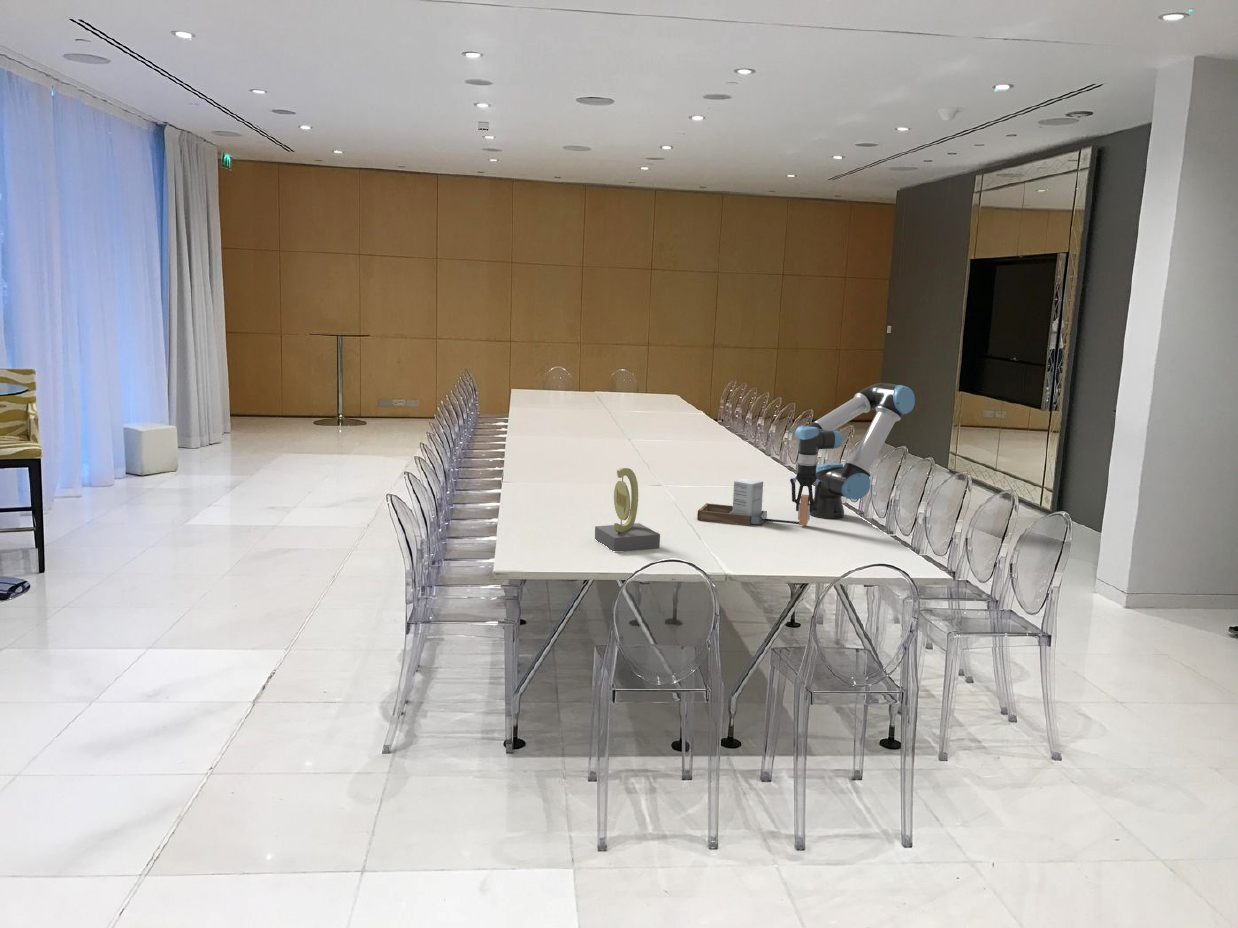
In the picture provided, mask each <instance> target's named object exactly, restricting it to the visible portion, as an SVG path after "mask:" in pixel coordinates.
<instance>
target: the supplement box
mask: <svg viewBox="0 0 1238 928" xmlns="http://www.w3.org/2000/svg"><path fill="white" fill-rule="evenodd" d="M763 494H764V481H763V480H762V481H761V480H757V479H752V478H751V479H750V478H742V479H738V480H734V481H733V494H732V497H733V498H732V506H733V514H740V515H751V516H756V517H760V516H761V514H762V511H763V510H762V509H763Z"/></svg>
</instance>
